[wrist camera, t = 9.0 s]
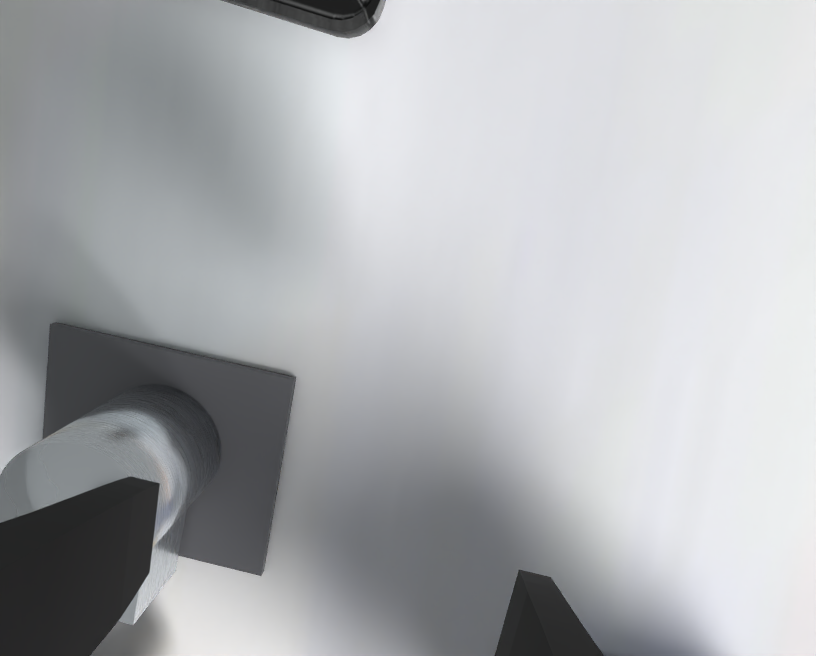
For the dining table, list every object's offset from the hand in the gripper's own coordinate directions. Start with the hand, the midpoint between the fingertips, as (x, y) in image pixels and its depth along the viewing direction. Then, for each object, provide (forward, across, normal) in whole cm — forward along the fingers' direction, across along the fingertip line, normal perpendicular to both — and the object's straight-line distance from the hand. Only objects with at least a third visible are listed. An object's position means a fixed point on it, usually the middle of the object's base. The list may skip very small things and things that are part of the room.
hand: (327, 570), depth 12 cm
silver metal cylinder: (+10, +8, +5) cm, 13 cm away
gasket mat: (+10, +8, +4) cm, 13 cm away
